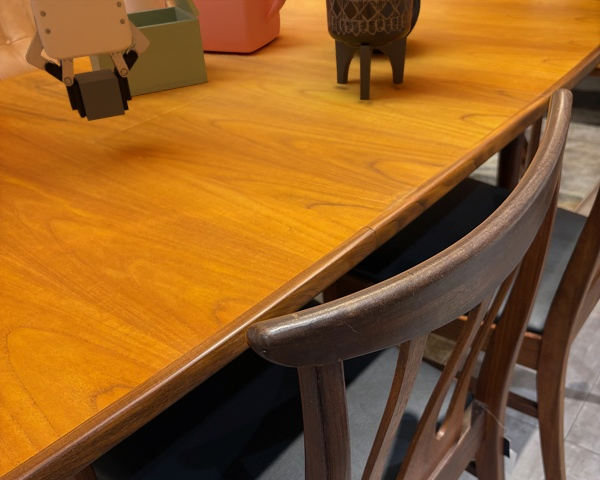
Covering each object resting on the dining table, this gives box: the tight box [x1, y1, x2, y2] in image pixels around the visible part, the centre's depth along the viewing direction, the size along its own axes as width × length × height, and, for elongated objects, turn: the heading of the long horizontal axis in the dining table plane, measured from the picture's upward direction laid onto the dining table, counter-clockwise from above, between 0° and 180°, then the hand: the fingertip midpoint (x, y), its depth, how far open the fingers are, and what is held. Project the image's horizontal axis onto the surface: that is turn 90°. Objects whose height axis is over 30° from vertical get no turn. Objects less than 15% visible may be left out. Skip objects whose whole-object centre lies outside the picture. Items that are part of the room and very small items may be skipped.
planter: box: [325, 0, 413, 101], centre depth 90 cm, size 13×13×18 cm
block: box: [73, 69, 126, 122], centre depth 76 cm, size 4×4×4 cm
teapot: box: [190, 0, 287, 53], centre depth 118 cm, size 20×22×14 cm
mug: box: [124, 0, 167, 13], centre depth 118 cm, size 12×8×12 cm
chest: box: [88, 5, 209, 97], centre depth 101 cm, size 17×13×10 cm
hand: (103, 109), depth 77 cm, fingers closed on block, 4 cm apart
